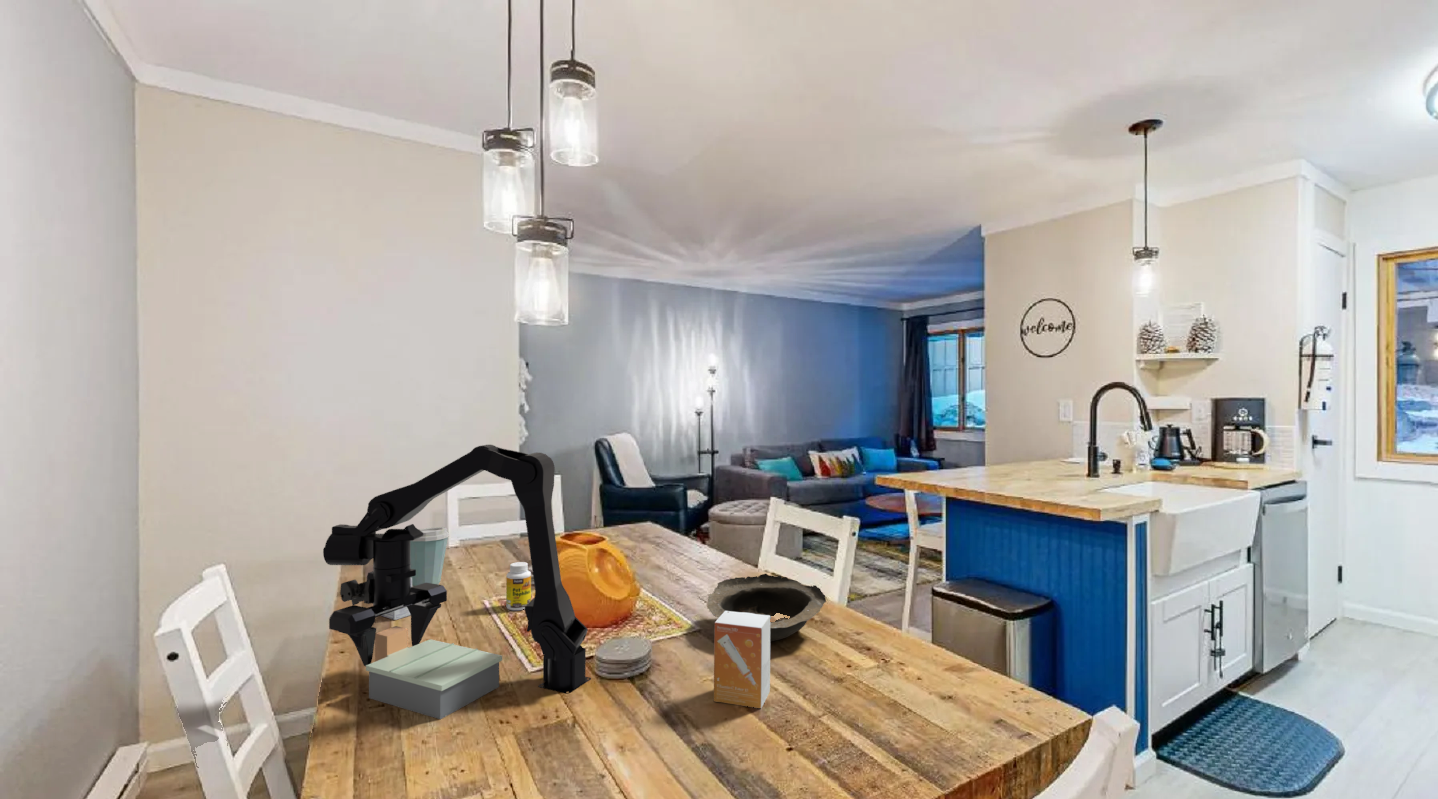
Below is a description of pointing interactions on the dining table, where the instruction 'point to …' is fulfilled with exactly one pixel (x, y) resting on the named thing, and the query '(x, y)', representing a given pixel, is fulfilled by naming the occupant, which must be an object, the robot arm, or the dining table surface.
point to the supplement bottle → (518, 586)
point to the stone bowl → (768, 601)
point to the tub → (433, 692)
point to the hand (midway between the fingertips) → (391, 656)
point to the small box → (742, 658)
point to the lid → (426, 660)
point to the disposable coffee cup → (429, 555)
